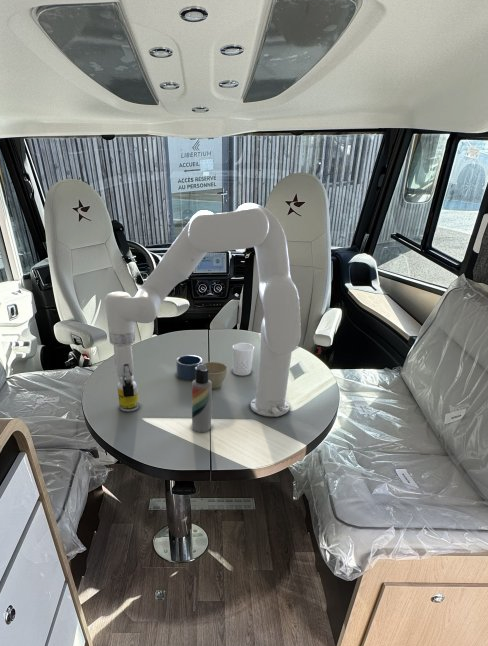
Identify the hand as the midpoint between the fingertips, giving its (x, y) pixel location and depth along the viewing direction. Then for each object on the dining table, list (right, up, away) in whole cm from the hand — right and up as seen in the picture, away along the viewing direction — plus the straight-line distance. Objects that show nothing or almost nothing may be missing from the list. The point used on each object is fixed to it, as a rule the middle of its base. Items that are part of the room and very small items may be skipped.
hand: (127, 390), depth 142 cm
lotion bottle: (+24, -13, -7) cm, 28 cm away
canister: (+20, +10, +24) cm, 33 cm away
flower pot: (+28, +4, +17) cm, 33 cm away
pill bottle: (0, -5, +4) cm, 6 cm away
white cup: (+39, +12, +27) cm, 49 cm away
